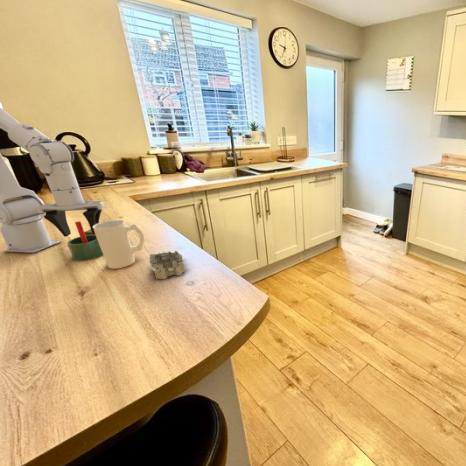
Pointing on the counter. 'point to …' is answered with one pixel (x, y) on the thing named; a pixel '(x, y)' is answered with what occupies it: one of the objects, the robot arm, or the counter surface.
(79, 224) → the straw
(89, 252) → the cup
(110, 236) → the mug
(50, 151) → the robot arm
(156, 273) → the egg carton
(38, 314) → the counter surface
